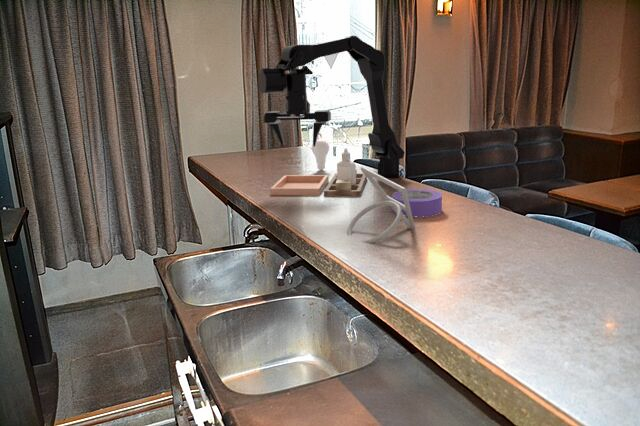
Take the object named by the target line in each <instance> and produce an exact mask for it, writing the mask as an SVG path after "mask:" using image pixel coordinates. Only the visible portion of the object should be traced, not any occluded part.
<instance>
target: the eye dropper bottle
mask: <svg viewBox="0 0 640 426" xmlns="http://www.w3.org/2000/svg"><path fill="white" fill-rule="evenodd" d="M356 169H357V166H356V164H355V162H354V161H351V153H350V152H349V151H348V148H344V151H343V152H342V153H341V161H339V162H337V164H336V173H337V180H351V185H356Z"/></svg>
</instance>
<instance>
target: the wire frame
mask: <svg viewBox="0 0 640 426" xmlns="http://www.w3.org/2000/svg"><path fill="white" fill-rule="evenodd" d="M360 170H361V172H362V173H364V174H365V176H366V177H367V179H368V180H369V182H370V183H371V184H372V185H373V187H374V188H375V189H376V190H377V191H378V192H379V194H380V195H381V196H382V197H383V199H384V200H382V201H378V202H375V203H373V204H370V205H369V206H367V207H365V208H364V209H362V210H361V211H359V213H357V214H356V215H355V216H354V217H353V219H352V220H351V222H350V223H349V225H348V227H347V229H346V230H347V231H346V235H347V236H348V237H352V235H353V234H352V233H353V229H354V227H355V225H356V224H357V222H358V221H359V220H360V219H361V218H362V217H363V216H364V215H366V214H368V213H369V212H370V211H372V210H374V209H376V208H380V207H383V206H385V207H386V206H389V207H391V209H392V208H393V210H394V211H395V212H396V213H397V214H396V217H395V219H394V221H393V222H392V224H391V225H390V226H389V227H388V228H387V229H385V230H384V231H383V232H381V234H378V235H377V236H374V237H372V238H370V239H365V240H364V239H363V240H360V242H361V243H366V244H374V243H377V242H380V241H381V240H383V239H385V238H386V237H387V236H389V235H390V234H392V232H393V231H394V230H395V229H396V228H397V226H398V225H399V224H400V222H401V220H402V223H404V224H405V225H406V226H407V228H408V229H410V230H412V231H413V230H415V229H416V227H415V222H414V217H412V213H411V209H410V204H409V200H408V195H407V191H406V190H407V188H405V187H404V186H402V185H400V184H398V183H396V182H394V181H392V180H390V179H389V178H384V177H382V176H380V175H378V173H376V172H374V171H372V170H370V169H368V168H366V167H365V166H361V167H360ZM376 180H378V181H380V182H382V183H384V184H385V185H387V186H389V187H391V188H393V189H395V190H397V191H400V192H402V197H403V201H404V204H402V203H400V202H398V201H396V200H395V199H393V198H392V197H391V196H389V194H387V193H386V191H385V190H384V189H383V188H382V187H381V185H380V184H379V182H377V181H376ZM402 209H403V210H404V211H406V213H407V216H404V215H403V213H402Z"/></svg>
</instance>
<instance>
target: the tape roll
mask: <svg viewBox="0 0 640 426" xmlns="http://www.w3.org/2000/svg"><path fill="white" fill-rule="evenodd" d="M406 191H407V195H408V200H409V204H410V209H411V213H412V216H417V217H416V218H426V217H425V216H429V217H433V216H432V215H435V216H437V215H436V214H438V215H440V214H441V213H442V212H443V211H442V210H443V208H442V206H443V194H442V193H441V192H440V191H437V190H433V189H428V188H427V189H426V188H425V189H424V188H410V189H406ZM391 195H392V197H391V198H393V199H395V200H396V201H398V202H400V203H402V204H404V201H403V197H402V192H400V191H399V190H397V191H395V192H394V193H393V194H391ZM391 209H392V211H391V212H392V213H393V212H394V214H395V213H396V212H395V211H394V210H393V208H392V207H391ZM441 211H442V212H441ZM402 213H403V215H405V217H407V213H406V211H404V210H403V209H402ZM439 213H440V214H439ZM396 215H397V213H396ZM423 216H424V217H423Z"/></svg>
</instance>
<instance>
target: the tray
mask: <svg viewBox="0 0 640 426" xmlns="http://www.w3.org/2000/svg"><path fill="white" fill-rule="evenodd" d="M329 179H330V178H329V174H320V175H319V174H318V175H317V174H315V175H314V174H312V175H309V174H308V175H306V174H303V175H302V174H295V175H294V174H293V175H291V174H288V175H287V174H286V175H283V176H282V177H281V178H280V179H278V181H277V182H276V183H275V184H274V185H272V187H270V189H269V190H270V196H320V195H321V194H322V192H324V190H325V189H326V187H327V186H328V184H329V182H330V180H329Z"/></svg>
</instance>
